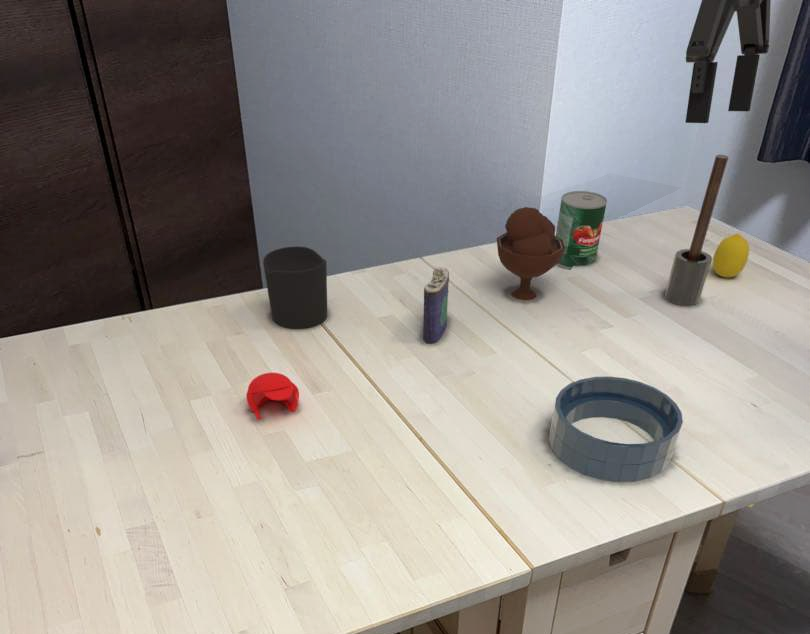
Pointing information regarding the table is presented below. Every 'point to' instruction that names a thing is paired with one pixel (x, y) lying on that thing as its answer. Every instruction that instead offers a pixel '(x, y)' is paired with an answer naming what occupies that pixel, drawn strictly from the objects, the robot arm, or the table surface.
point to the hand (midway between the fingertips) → (718, 117)
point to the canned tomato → (580, 227)
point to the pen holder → (296, 287)
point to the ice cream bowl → (529, 248)
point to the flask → (435, 305)
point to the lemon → (731, 256)
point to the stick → (707, 207)
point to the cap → (272, 392)
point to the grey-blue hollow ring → (624, 404)
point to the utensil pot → (687, 278)
